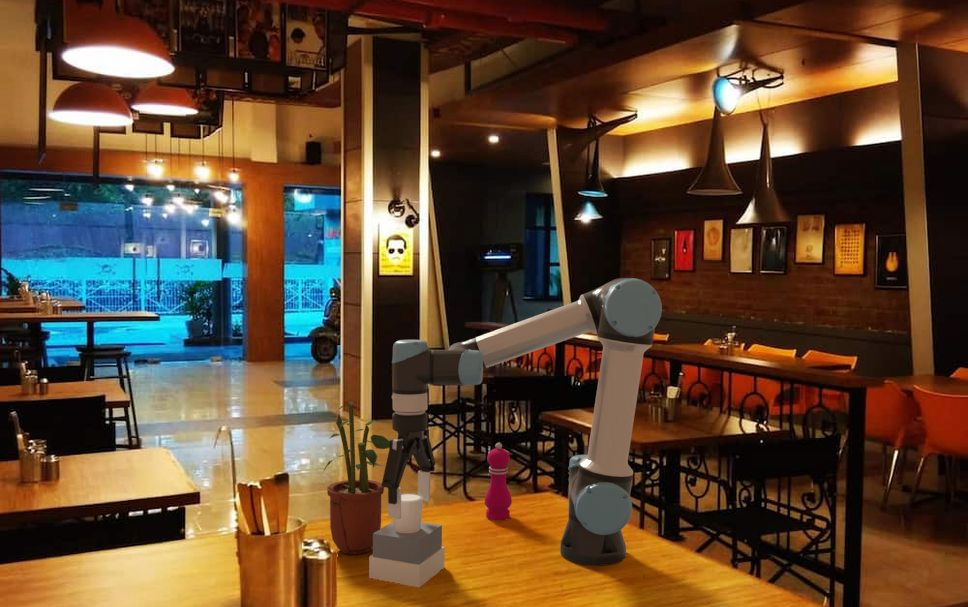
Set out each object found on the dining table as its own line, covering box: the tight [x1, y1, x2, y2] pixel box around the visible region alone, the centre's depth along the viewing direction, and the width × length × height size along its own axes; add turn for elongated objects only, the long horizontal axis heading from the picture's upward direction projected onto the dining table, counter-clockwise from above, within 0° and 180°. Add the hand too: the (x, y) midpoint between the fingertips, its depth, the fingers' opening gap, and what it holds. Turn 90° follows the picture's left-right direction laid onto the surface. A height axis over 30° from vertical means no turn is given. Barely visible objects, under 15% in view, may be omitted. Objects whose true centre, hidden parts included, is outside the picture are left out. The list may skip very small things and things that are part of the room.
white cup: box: [392, 492, 424, 533], centre depth 172 cm, size 7×7×7 cm
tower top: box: [372, 520, 443, 565], centre depth 172 cm, size 11×11×5 cm
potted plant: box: [322, 402, 390, 555], centre depth 188 cm, size 17×16×35 cm
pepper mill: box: [484, 442, 513, 521], centre depth 211 cm, size 7×7×20 cm
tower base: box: [368, 546, 446, 588], centre depth 173 cm, size 12×12×5 cm
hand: (409, 509), depth 173 cm, fingers open, 13 cm apart
